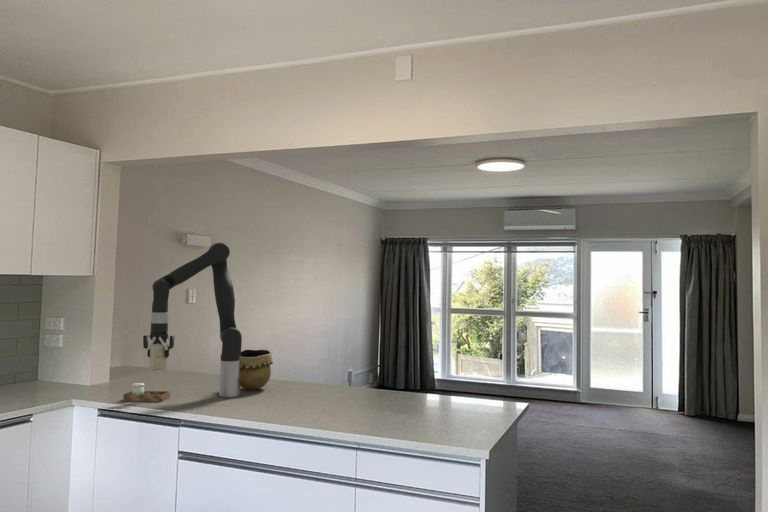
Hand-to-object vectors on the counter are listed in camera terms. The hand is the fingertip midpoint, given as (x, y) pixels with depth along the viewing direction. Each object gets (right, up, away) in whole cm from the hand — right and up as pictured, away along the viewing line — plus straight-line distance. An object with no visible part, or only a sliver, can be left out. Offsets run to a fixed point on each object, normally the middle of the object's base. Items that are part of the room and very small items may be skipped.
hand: (158, 357), depth 267 cm
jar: (-9, -19, -1) cm, 21 cm away
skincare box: (0, -6, 0) cm, 6 cm away
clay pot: (+36, -22, +32) cm, 53 cm away
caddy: (-5, -20, -1) cm, 20 cm away
